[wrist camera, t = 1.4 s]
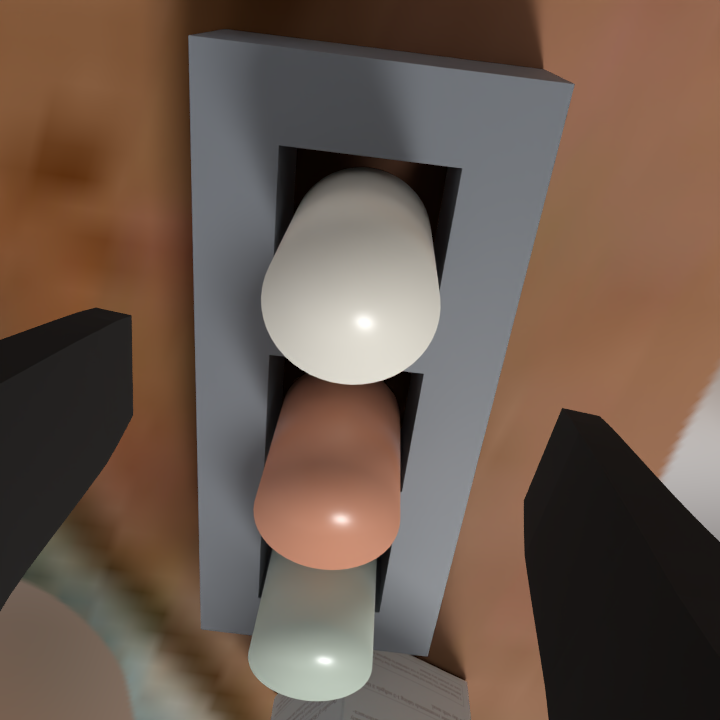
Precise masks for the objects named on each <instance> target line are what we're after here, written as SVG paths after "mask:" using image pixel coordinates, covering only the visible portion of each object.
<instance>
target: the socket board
mask: <svg viewBox="0 0 720 720" xmlns="http://www.w3.org/2000/svg"><path fill="white" fill-rule="evenodd" d="M188 39H189V86H190V133H191V180H192V227H193V275H194V322H195V369H196V416H197V463H198V510H199V557H200V604H201V629H203V630H211V631H219V632H228V633H236V634H244V635H253V631H254V627H255V622H256V618H257V614H258V609H259V605H260V601H261V596H262V592H263V588H264V584H265V579H266V575H267V571H268V566H269V562H270V558H271V553H272V548H271V547H270V546H269V545H268V544H267V543H266V541H265V540H264V539H263V537H262V536H261V534H260V533H259V531H258V529H257V526H256V524H255V519H254V510H253V509H254V501H255V498H256V494H257V491H258V487H259V484H260V481H261V477H262V474H263V470H264V467H265V463H266V460H267V456H268V453H269V450H270V446H271V443H272V439H273V436H274V432H275V429H276V425H277V422H278V419H279V415H280V412H281V408H282V396H283V379H284V362H285V356H284V355H283V354H282V352H281V351H280V350H279V349H278V348H277V346H276V345H275V343H274V342H273V340H272V339H271V337H270V335H269V333H268V330H267V328H266V325H265V322H264V319H263V314H262V308H261V293H262V285H263V282H264V278H265V275H266V272H267V270H268V268H269V265H270V263H271V261H272V259H273V257H274V255H275V253H276V251H277V249H278V247H279V245H280V243H281V241H282V239H283V237H284V235H285V233H286V231H287V229H288V227H289V225H290V223H291V221H292V219H293V210H294V193H295V176H296V159H297V148H304V149H312V150H320V151H328V152H336V153H344V154H352V155H360V156H368V157H376V158H384V159H392V160H400V161H408V162H416V163H424V164H432V165H440V166H448V167H447V173H446V179H445V185H444V190H443V196H442V202H441V207H440V213H439V219H438V224H437V230H436V236H435V241H434V255H435V262H436V270H437V277H438V285H439V292H440V306H441V309H440V318H439V322H438V326H437V330H436V332H435V334H434V337H433V339H432V341H431V342H430V344H429V346H428V347H427V349H426V350H425V351H424V353H423V354H422V355H421V356H420V357H419V358H418V359H417V360H416V361H415V362H414V363H413V364H412V365H411V366H409V367H408V368H406V369H405V370H404V371H405V372H411V378H410V384H409V389H408V395H407V401H406V407H405V412H404V418H403V424H402V428H400V527H399V530H398V534H397V536H396V538H395V540H394V542H393V543H392V544H391V546H390V547H389V548H388V549H387V550H386V551H385V552H384V553H383V554H382V555H380V556H379V557H378V558H377V566H376V590H375V614H374V638H373V650H377V651H386V652H394V653H402V654H411V655H419V656H427V657H428V653H429V649H430V645H431V641H432V637H433V634H434V630H435V626H436V622H437V618H438V614H439V610H440V606H441V602H442V599H443V595H444V591H445V587H446V583H447V579H448V575H449V571H450V567H451V564H452V560H453V556H454V552H455V548H456V544H457V540H458V536H459V532H460V528H461V525H462V521H463V517H464V513H465V509H466V505H467V501H468V497H469V493H470V490H471V486H472V482H473V478H474V474H475V470H476V466H477V462H478V458H479V455H480V451H481V447H482V443H483V439H484V435H485V431H486V427H487V423H488V419H489V416H490V412H491V408H492V404H493V400H494V396H495V392H496V388H497V384H498V381H499V377H500V373H501V369H502V365H503V361H504V357H505V353H506V349H507V346H508V342H509V338H510V334H511V330H512V326H513V322H514V318H515V314H516V310H517V307H518V303H519V299H520V295H521V291H522V287H523V283H524V279H525V275H526V272H527V268H528V264H529V260H530V256H531V252H532V248H533V244H534V240H535V237H536V233H537V229H538V225H539V221H540V217H541V213H542V209H543V205H544V201H545V198H546V194H547V190H548V186H549V182H550V178H551V174H552V170H553V166H554V163H555V159H556V155H557V151H558V147H559V143H560V139H561V135H562V131H563V128H564V124H565V120H566V116H567V112H568V108H569V104H570V100H571V96H572V92H573V89H574V85H575V84H573V83H571V82H569V81H567V80H565V79H563V78H561V77H559V76H557V75H555V74H553V73H551V72H549V71H546V70H544V69H537V68H529V67H522V66H514V65H506V64H498V63H490V62H482V61H474V60H466V59H458V58H451V57H443V56H435V55H427V54H419V53H411V52H403V51H395V50H387V49H380V48H372V47H364V46H356V45H348V44H340V43H332V42H324V41H316V40H308V39H301V38H293V37H285V36H277V35H269V34H261V33H253V32H245V31H237V30H230V29H223V30H217V31H211V32H205V33H199V34H193V35H188Z"/></svg>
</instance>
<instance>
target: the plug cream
mask: <svg viewBox="0 0 720 720" xmlns="http://www.w3.org/2000/svg"><path fill="white" fill-rule="evenodd" d="M261 308H262V314H263V319H264V322H265V325H266V328H267V330H268V333H269V335H270V337H271V339H272V340H273V342H274V343H275V345H276V346H277V348H278V349H279V350H280V351H281V352H282V354H283V355H284V356H285V357H286V358H287V359H288V360H289V361H291V362H292V363H293V364H294V365H296V366H297V367H298V368H300V369H301V370H303V371H305V372H307V373H308V374H310V375H312V376H315V377H317V378H319V379H322V380H326V381H329V382H333V383H339V384H350V385H357V384H368V383H374V382H378V381H382V380H385V379H387V378H390V377H392V376H395V375H397V374H398V373H400V372H402V371H404V370H405V369H406V368H408V367H409V366H411V365H412V364H413V363H414V362H415V361H416V360H417V359H418V358H419V357H420V356H421V355H422V354H423V353H424V351H425V350H426V349H427V347H428V346H429V344H430V342H431V341H432V339H433V337H434V334H435V332H436V330H437V326H438V322H439V318H440V309H441V306H440V292H439V285H438V277H437V270H436V262H435V255H434V247H433V240H432V233H431V226H430V220H429V217H428V214H427V211H426V209H425V206H424V204H423V202H422V201H421V199H420V198H419V196H418V195H417V194H416V193H415V191H414V190H413V189H412V188H411V187H410V186H409V185H408V184H406V183H405V182H404V181H403V180H401V179H400V178H398V177H397V176H394V175H392V174H390V173H388V172H385V171H383V170H380V169H375V168H369V167H354V168H347V169H342V170H339V171H337V172H334V173H331V174H330V175H328V176H326V177H324V178H323V179H321V180H320V181H318V182H317V183H316V184H315V185H314V186H313V187H312V188H310V190H309V191H308V192H307V193H306V195H305V196H304V197H303V199H302V201H301V202H300V204H299V206H298V208H297V210H296V212H295V214H294V216H293V219H292V221H291V223H290V225H289V227H288V229H287V231H286V233H285V235H284V237H283V239H282V241H281V243H280V245H279V247H278V249H277V251H276V253H275V255H274V257H273V259H272V261H271V263H270V265H269V268H268V270H267V272H266V275H265V278H264V282H263V285H262V293H261Z"/></svg>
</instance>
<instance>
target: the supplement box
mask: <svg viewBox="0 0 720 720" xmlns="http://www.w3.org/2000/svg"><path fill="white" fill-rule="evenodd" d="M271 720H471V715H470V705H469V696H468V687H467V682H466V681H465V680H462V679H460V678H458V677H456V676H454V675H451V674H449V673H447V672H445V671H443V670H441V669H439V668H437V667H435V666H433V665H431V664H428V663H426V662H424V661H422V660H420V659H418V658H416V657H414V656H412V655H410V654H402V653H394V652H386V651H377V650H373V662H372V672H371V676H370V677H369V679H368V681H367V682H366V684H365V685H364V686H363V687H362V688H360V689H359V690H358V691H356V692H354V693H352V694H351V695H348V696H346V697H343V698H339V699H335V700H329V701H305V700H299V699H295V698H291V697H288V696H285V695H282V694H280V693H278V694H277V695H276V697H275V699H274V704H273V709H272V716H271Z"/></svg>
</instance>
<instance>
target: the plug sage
mask: <svg viewBox="0 0 720 720" xmlns="http://www.w3.org/2000/svg"><path fill="white" fill-rule="evenodd" d="M376 566H377V558H376V559H374V560H373V561H371V562H368V563H366V564H364V565H361V566H358V567H354V568H349V569H342V570H323V569H316V568H311V567H307V566H303V565H300V564H298V563H295V562H293V561H291V560H289V559H287V558H285V557H283V556H282V555H280V554H279V553H277V552H276V551H275V550H274V549H272V553H271V558H270V562H269V566H268V571H267V575H266V579H265V584H264V588H263V592H262V596H261V601H260V605H259V609H258V614H257V618H256V622H255V627H254V631H253V635H252V640H251V644H250V648H249V653H248V661H249V665H250V668H251V670H252V672H253V673H254V675H255V676H256V677H257V678H258V679H259V680H260V681H261V682H262V683H263V684H264V685H266V686H267V687H268V688H270V689H272V690H273V691H275V692H277V693H280V694H282V695H285V696H288V697H291V698H295V699H299V700H305V701H329V700H335V699H339V698H343V697H346V696H348V695H351V694H352V693H354V692H356V691H358V690H359V689H360V688H362V687H363V686H364V685H365V684H366V682H367V681H368V679H369V677H370V676H371V672H372V662H373V638H374V614H375V590H376Z"/></svg>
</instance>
